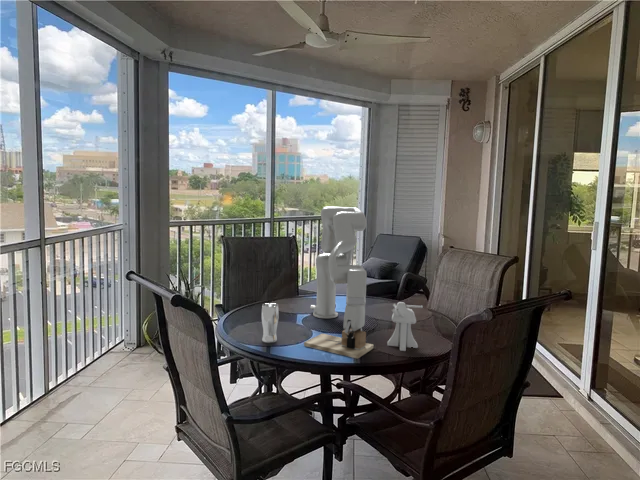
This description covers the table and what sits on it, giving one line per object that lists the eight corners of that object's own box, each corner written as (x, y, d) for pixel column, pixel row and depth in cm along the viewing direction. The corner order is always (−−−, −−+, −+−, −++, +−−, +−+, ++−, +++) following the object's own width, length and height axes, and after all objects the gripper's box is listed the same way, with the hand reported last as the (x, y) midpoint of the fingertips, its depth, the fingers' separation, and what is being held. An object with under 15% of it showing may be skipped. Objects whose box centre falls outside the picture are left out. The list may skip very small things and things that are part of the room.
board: (304, 345, 176) (304, 341, 176) (322, 336, 188) (322, 333, 188) (357, 358, 164) (357, 354, 164) (373, 348, 176) (373, 344, 176)
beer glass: (271, 344, 177) (271, 307, 175) (257, 341, 180) (258, 305, 179) (281, 340, 183) (282, 304, 181) (268, 336, 186) (268, 302, 185)
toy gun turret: (421, 352, 173) (423, 307, 171) (387, 349, 175) (389, 305, 173) (419, 342, 185) (421, 300, 183) (387, 340, 187) (389, 298, 185)
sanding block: (341, 346, 173) (342, 331, 172) (347, 342, 177) (348, 328, 176) (359, 350, 168) (360, 335, 168) (365, 346, 173) (366, 331, 172)
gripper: (357, 295, 180) (355, 338, 182) (336, 303, 165) (335, 350, 167) (373, 297, 176) (372, 341, 178) (354, 306, 161) (352, 354, 163)
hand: (354, 345), depth 172 cm, fingers closed on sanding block, 5 cm apart
